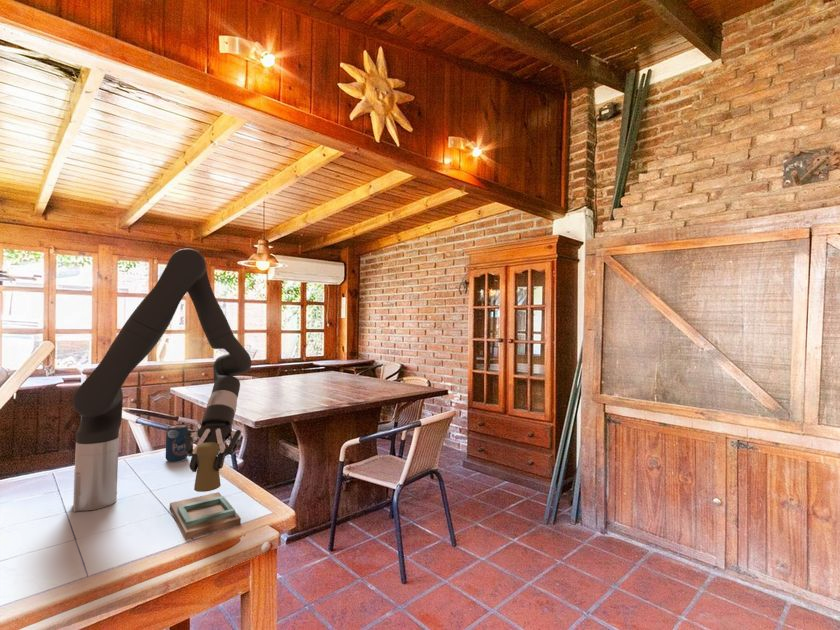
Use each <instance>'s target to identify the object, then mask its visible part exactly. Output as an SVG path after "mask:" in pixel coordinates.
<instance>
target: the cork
mask: <svg viewBox="0 0 840 630" xmlns="http://www.w3.org/2000/svg"><path fill="white" fill-rule="evenodd" d="M196 454H197V456H198V457H199V460H198V467H197V470H196V472H195V480H194V486H193V490H194V491H195V492H198V493H205V492H211V491H215V490H217V489H219V488H220V487H222V486H221V478H220V477H221V476H220V470H219V471H216V470H215V463H216V459H217V455H218V454H219V445H218V444H217V443H215V442H206V443H202V444H200V445H199V446H198V447H197V450H196Z"/></svg>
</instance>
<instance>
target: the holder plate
mask: <svg viewBox="0 0 840 630" xmlns="http://www.w3.org/2000/svg"><path fill="white" fill-rule="evenodd" d="M169 510H170V512H171V514H172V516H173V518H174V520H175V522H176V523H177V526H178V527H179V529H180V532H181V533H182V535H183V537H184V538H185V540H189V539H192V538H196V537H200V536H202V535H206V534H210V533H214V532H217V531H222V530H225V529H228V527H229V528H233V527H235V526H239V524H240V525H241V523H242V522H241V520H242V518H241V517H240V515H239V514H238V513H237V512H236V509H235V508H234V507H233V506H232V504H231V503H230V502H229V501H228V500H227V499H226V497H225V496H224V495H222V494H221V493H220V492H219V491H217V492H214V493H209V494H204V495H203V494H202V495H200V496H196V497H191V498H187V499H182V500H177V501H172V502H170V503H169Z"/></svg>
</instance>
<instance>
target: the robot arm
mask: <svg viewBox="0 0 840 630" xmlns="http://www.w3.org/2000/svg"><path fill="white" fill-rule="evenodd" d="M209 279H210V278H209V275H208V272H207V262H206V259H205V258H204V256H203V255H202V253H201V252H199V251H198V250H195V249H193V248H181V249H178V250H176V251H175V252H174V253H173V254H172V255H171V256H170V257H169V260H168V262H167V263H166V266H165V268H164V270H163V272H162V273H161V275H160V277H159V279H158V280H157V282H156V284H155V285H154V286H153V288H152V289H151V290H150V291H149V292H148V294H147V295H146V296H145V297H144V298H143V299H142V300H141V302H140V303H139V304H138V305H137V307H136V308H135V309H134V310H133V312H132V313H131V314H130V316H129V317H128V318H127V320H126V322H125V323H124V325H123V326H122V328H121V329H120V330H119V332H118V333H117V335H116V337H115V338H114V340H113V341H112V343H111V344H110V346H109V347H108V349H107V351H106V353H105V355H104V356H103V358H102V360H101V361H100V362H99V364H98V365H97V366H96V367H95V368H94V370H93V371H92V372H91V373H90V374H89V375H88V376H87V378H86V379H85V380H84V381H83V382H82V383H81V384H80V385H79V387H78V388H77V389H76V391H75V392H74V394H73V397H72V407H73V409H74V411H75V412H76V413H77V414H79V415H80V416H81V421H80V423H79V426H78V429H77V431H76V432H75V453H74V455H75V456H74V457H75V458H74V476H73V477H74V479H73V502H72V503H73V505H72V506H73V507H72V508H73V512H80V511H81V512H86V511H93V510H99V509H103V508H106V507H108V506H111V505H112V504H114V503H116V502H117V499H118V466H119V442H120V441H119V439H120V438H119V435H120V433H119V432H120V430H121V429H120V428H121V424H122V419H123V418H122V417H123V403H124V395H123V394H124V393H123V389H122V387H123V386H124V385H123V384H124V383H125V382H126V379H127V378H128V377H129V375H130V374H131V373H132V372H133V370H134V369H135V368H136V367H137V366H138V365H140V363H141V362H142V361H143V360H144V359H146V357H147V356H148V355H149V354H150V352H152V350H154V348H155V347H156V346H157V344H158V343H159V341H160V340H161V338H162V337H163V335H164V334H165V332H166V331H167V329H168V327H169V325H170V323H172V322H171V321H172V320H173V318H174V316H175V314H176V312H177V309H178V307H179V305H180V303H181V301H182V300H183V298H184V297H185V296H186V294H188V296H189V297H190V300H191V302H192V303H193V306H194V309H195V312H196V314H197V318H198V320H199V323H200V325H201V328H202V331H203V333H204V335H205V337H206V340H207V342H208V344H209V346H210V347H211V348H212V349H213V350H221V349H222V350H225V351H226V352H227V353H226V354H223V355H220V356H218V357H217V358H216V359H215V361H214V362H213V365H212V367H213V368H212V372H213V385H212V386H213V387H212V389H211V390H212V391H211V393H210V396H209V398H208V400H207V403H206V407H205V411H204V415H203V417H202V421H201V425H200V428H199V429H198V430H197V431H193V432H191V431H188V432H186V442H185V451H186V453H187V455H188V456H187V457H189V458H190V457H191V458H190V462H189V465H188V466H189V469H190V471H191V472H192V473H197V467H198V460H199V457H198V456H197V454H196V450H197V447H198V446H199V445H200V444H202V443H206V442H215V443H217V444H218V445H219V453H218V455H217V459H216V463H215V470H216V471H219V472H220V470H221V469H222V468H223V467H224V463H225V459H226V457H227V456H233V455H234V454H235V452H236V450H237V448H238V446H239V444H240V443H241V439H242V438H243V434H242V431H241V429H237V430H233V429H232V428H233V423H234V419H235V414H236V411H237V406H238V397H239V393H240V389H241V381H240V380H239V379H238V377H236V376H238V375H242V374H245V373H247V372H248V371H250V369H251V368H252V358H251V356H250V354H249V353H248V351H247V350H246V349H245V348H244V347H243V345H242V344H241V342H240V341H239V340H238V339H237V337H235V335H234V332H233V331H232V328H231V326H230V323H229V322H228V320H227V317H226V315H225V313H224V311H223V310H222V308H221V306H220V304H219V302H218V300H217V298H216V296H215V293H214V290H213V289H212V286H211V282H210V280H209ZM230 437H231V440H230V442H229V444H228V446H227V447H226V445H225V442H226V441H227V440H228V439H229V438H230ZM197 438H199V440H198V441H197V443H196V445H195V447H194V442H195V441H196V439H197Z"/></svg>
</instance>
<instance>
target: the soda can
mask: <svg viewBox="0 0 840 630" xmlns="http://www.w3.org/2000/svg"><path fill="white" fill-rule="evenodd" d="M188 431H189V427H188V425H187V424H185V423H178V424H172V425H169V426H168V427H167V430H166V432H165V433H166V434H165V460H167V462H168V463H180V462H183V461H184V462H185V460H186V459H187V458H188V457H189V456H188V455H187V453H186V451H185V442H186V432H188Z"/></svg>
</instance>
